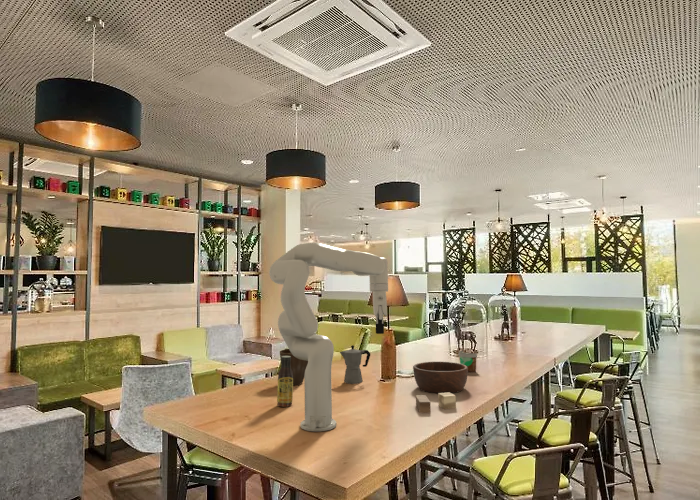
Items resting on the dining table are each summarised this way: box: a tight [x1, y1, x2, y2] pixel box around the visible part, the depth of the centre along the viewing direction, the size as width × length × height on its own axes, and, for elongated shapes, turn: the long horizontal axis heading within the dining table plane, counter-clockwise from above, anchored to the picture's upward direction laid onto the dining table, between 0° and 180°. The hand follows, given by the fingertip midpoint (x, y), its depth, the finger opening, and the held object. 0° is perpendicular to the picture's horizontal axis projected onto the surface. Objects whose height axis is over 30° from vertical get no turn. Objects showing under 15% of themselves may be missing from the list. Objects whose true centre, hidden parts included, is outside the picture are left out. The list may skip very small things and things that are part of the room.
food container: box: [458, 350, 478, 373], centre depth 248 cm, size 12×6×10 cm, turn 25°
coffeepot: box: [339, 344, 371, 385], centre depth 227 cm, size 15×9×18 cm, turn 87°
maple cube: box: [437, 392, 457, 410], centre depth 180 cm, size 5×5×5 cm
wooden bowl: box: [412, 361, 469, 394], centre depth 210 cm, size 25×25×10 cm
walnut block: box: [415, 394, 432, 414], centre depth 178 cm, size 4×4×10 cm
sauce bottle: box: [276, 356, 294, 408], centre depth 186 cm, size 6×6×20 cm
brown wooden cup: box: [279, 348, 308, 386], centre depth 225 cm, size 15×15×16 cm
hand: (379, 333), depth 183 cm, fingers closed
